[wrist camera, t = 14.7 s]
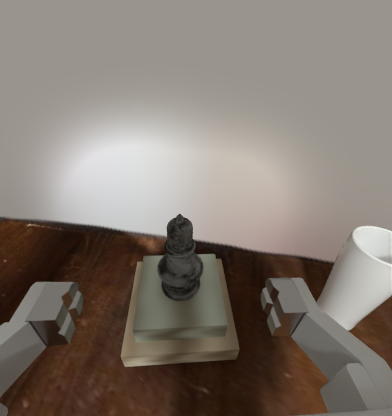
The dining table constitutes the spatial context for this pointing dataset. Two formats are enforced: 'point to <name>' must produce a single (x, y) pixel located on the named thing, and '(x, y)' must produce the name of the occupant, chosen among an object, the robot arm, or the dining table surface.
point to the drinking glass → (359, 277)
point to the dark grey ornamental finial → (180, 262)
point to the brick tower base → (183, 346)
